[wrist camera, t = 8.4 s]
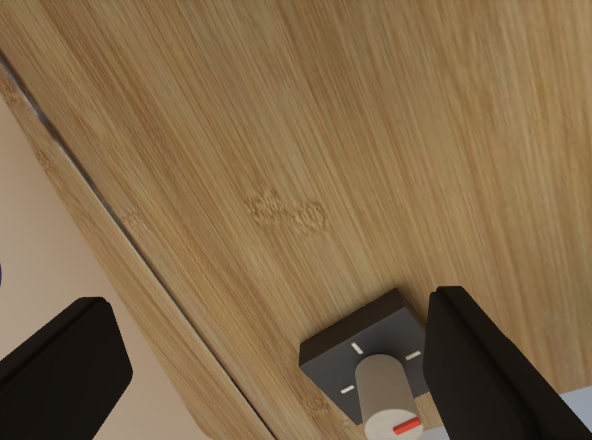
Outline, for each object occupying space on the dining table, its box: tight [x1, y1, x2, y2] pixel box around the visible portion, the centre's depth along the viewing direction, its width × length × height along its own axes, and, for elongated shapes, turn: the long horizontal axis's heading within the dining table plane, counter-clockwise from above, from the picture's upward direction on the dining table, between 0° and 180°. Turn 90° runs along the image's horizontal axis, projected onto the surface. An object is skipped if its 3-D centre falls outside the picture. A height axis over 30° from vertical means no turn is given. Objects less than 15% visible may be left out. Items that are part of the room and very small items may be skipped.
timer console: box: [299, 288, 429, 425], centre depth 30 cm, size 12×10×3 cm
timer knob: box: [355, 354, 423, 440], centre depth 26 cm, size 5×5×6 cm
